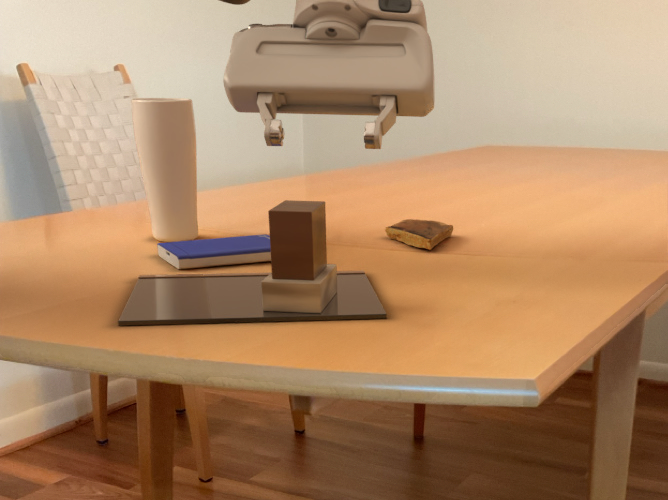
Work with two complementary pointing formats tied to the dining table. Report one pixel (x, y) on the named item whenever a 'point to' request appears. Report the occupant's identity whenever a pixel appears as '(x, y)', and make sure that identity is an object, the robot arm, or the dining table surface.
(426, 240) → the shard
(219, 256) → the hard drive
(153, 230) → the white cup
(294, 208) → the brown block with base
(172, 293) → the slate
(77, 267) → the dining table surface
